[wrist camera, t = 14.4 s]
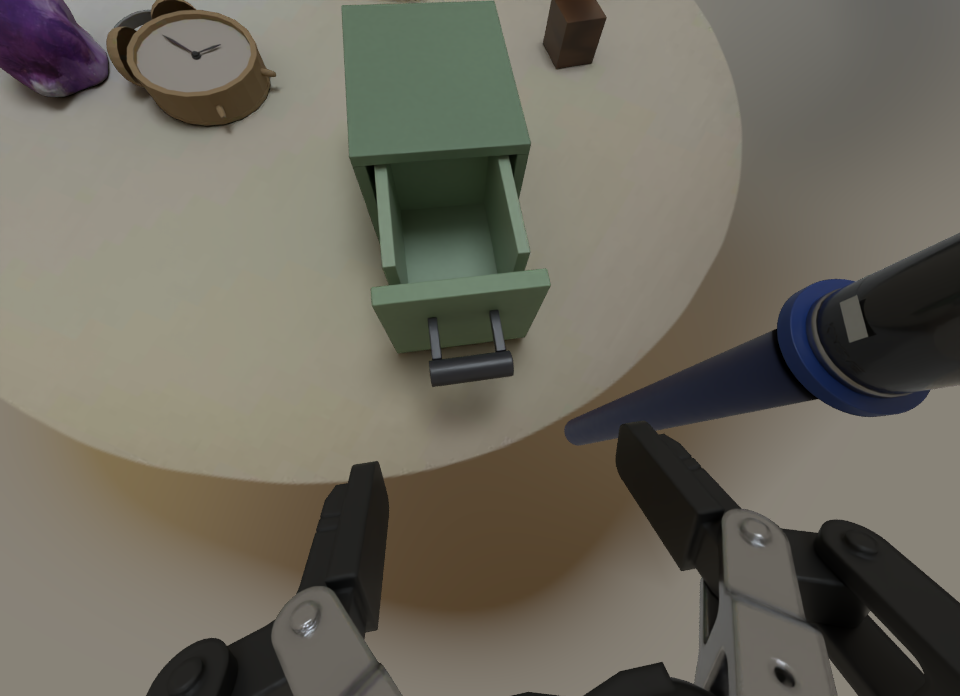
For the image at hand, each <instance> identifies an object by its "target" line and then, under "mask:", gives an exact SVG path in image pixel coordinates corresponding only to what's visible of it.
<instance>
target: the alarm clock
mask: <svg viewBox="0 0 960 696" xmlns="http://www.w3.org/2000/svg"><path fill="white" fill-rule="evenodd" d="M141 25H143V26H142V27H141V28H140V29H139V30H138V31H135V30H134V29H135V28H137V27H139V26H141ZM106 44H107V51H108V54H109V57H110V59H111V61H112V63H113V65H114V66H115V67H116V69H117V70H118V72H119V73H120V74H121V75H122V76H123V77H124V78H126V79H127V80H128V81H130V82H132V83H133V84H135V85H137V86H140V87H144V88H145V89H146V90H147V91H148V92H149V94H150V95H151V96H152V97H153V99H154V100H155V102H156V104H157V105H158V106H159V107H160V108H162V109H163V110H164V111H165V112H166V113H167V114H169V115H170V116H172V117H174V118H176V119H179V120H181V121H184V122H186V123H191V124H198V125H205V126H208V125H220V124H227V123H230V122H233V121H236V120H239V119H242V118H244V117H246V116H247V115H249V114H250V113H252V112H254V111H255V110H257V109H258V108H259V106H260V105H261V104H262V103H263V101H264V100H265V99H266V98H267V94H268V91H269V88H270V80H269V77H276V73H275V72H274V71H271V70H268V69H266V67H265V65H264V63H263V60H262V58H261V56H260V53H259V51H258V49H257V45H256V43H255V41H254V39H253V38H252V36H251V35H250V33H249V31H248V30H247V29H246V28H245V27H243V26H242V25H241V24H240V23H238V22H237V21H236V20H234V19H231V18H229V17H227V16H224V15H222V14H219V13H215V12H209V11H203V10H196V9H195V8H194V7H193V6H192V5H191V4H189V3H188V2H186V1H184V0H156V2H155V3H154V4H153V5H152V10H143V11H138V12H135V13H133V14H130V15H128V16H126V17H124V18H123V19H122V20H120V21H119V22H118V23H117V24H116V25H115V27H114V28H113V29H112V30H111V31H110V32H109V34H108V36H107V40H106Z"/></svg>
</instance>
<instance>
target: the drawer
mask: <svg viewBox="0 0 960 696" xmlns="http://www.w3.org/2000/svg"><path fill="white" fill-rule="evenodd" d="M374 170H375V183H376V196H377V209H378V222H379V234H380V247H381V260H382V268H383V271H384V274H385V276H386V279H387V281H388V284H389V286H379V287H372V288H371V302H372V307H373V308H374V310H375V312H376V314H377V316H378V318H379V320H380V322H381V323H382V325H383V327H384V329H385V331H386V333H387V335H388V336H389V338H390V340H391V342H392V344H393V346H394V348H395V350H396V351H397V353H405V352H413V351H420V350H428V349H431V354H432V360H433V361H429V369H430V377H431V383H432V387H436V386H444V385H451V384H458V383H465V382H473V381H480V380H487V379H494V378H502V377H509V376H513V373H514V366H513V359H512V355H511V352H510V351H506V347H505V342H504V340H507V339H515V338H523V337H525V336H526V334H527V332H528V330H529V328H530V326H531V324H532V322H533V320H534V318H535V316H536V314H537V312H538V310H539V308H540V306H541V304H542V302H543V300H544V298H545V296H546V294H547V292H548V290H549V288H550V286H551V284H550V280H549V275H548V271H547V269H546V268H545V269H536V270H527V271H524V270H525V267H526V264H527V261H528V258H529V255H530V248H529V243H528V239H527V235H526V230H525V226H524V222H523V217H522V213H521V208H520V204H519V200H518V195H517V191H516V187H515V182H514V178H513V173H512V169H511V165H510V160H509V156H508V155H501V156H488V157H475V158H461V159H448V160H435V161H421V162H408V163H395V164H381V165H374ZM491 341H494V346H495V352H494V353H486V354H479V355H471V356H463V357H456V358H448V359H442V354H441V348H444V347H452V346H460V345H468V344H475V343H483V342H491Z"/></svg>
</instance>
